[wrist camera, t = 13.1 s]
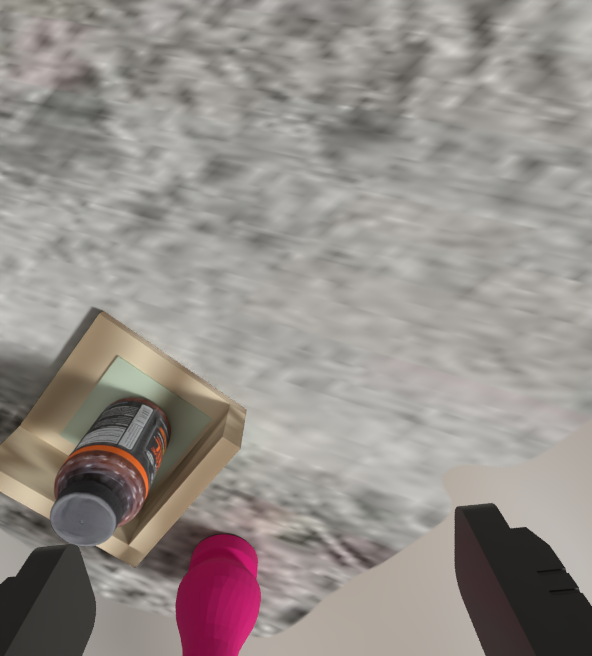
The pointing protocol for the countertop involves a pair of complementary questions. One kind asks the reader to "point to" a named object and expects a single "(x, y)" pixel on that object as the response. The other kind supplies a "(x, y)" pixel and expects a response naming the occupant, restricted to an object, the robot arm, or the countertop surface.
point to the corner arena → (92, 399)
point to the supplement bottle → (109, 472)
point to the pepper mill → (218, 597)
